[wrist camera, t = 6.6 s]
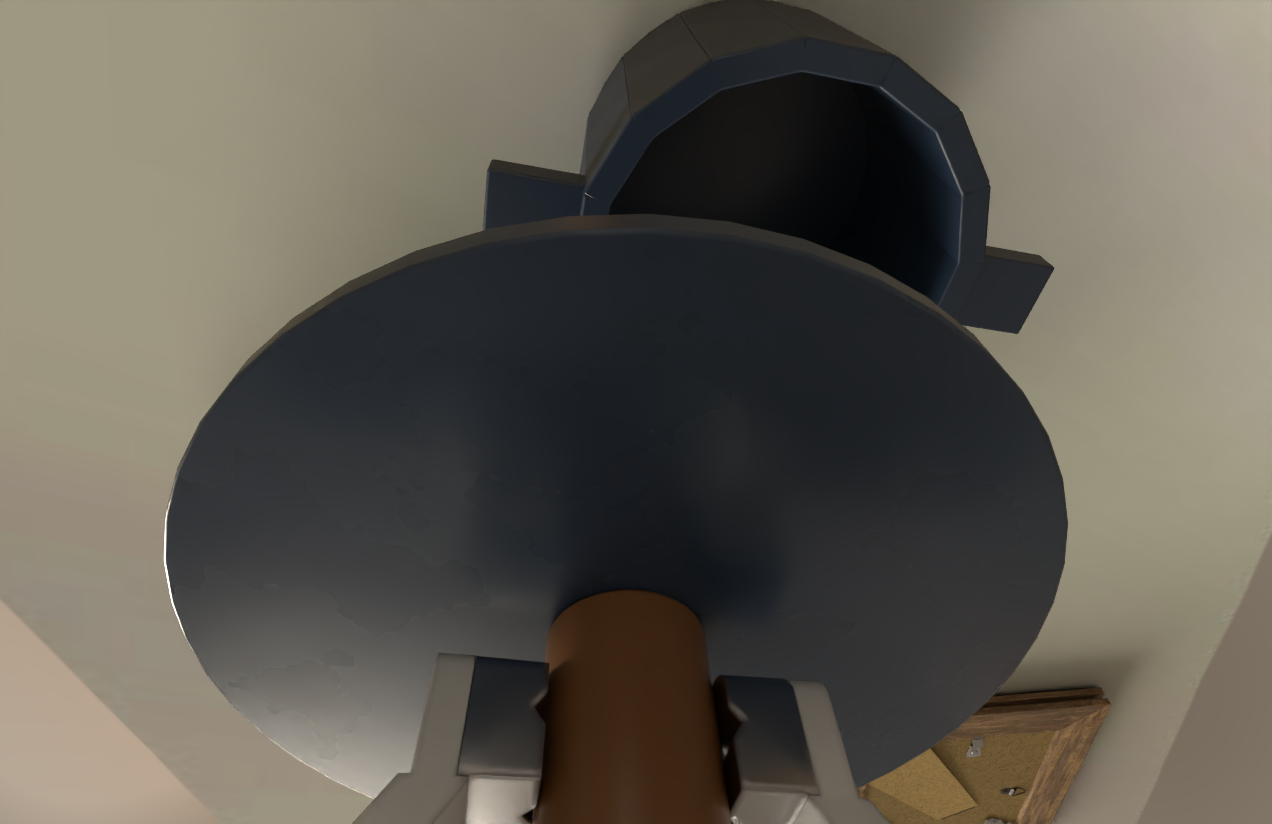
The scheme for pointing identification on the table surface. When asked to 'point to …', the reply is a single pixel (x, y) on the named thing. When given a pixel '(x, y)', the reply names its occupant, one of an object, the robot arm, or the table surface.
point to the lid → (616, 506)
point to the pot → (789, 154)
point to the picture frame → (997, 763)
